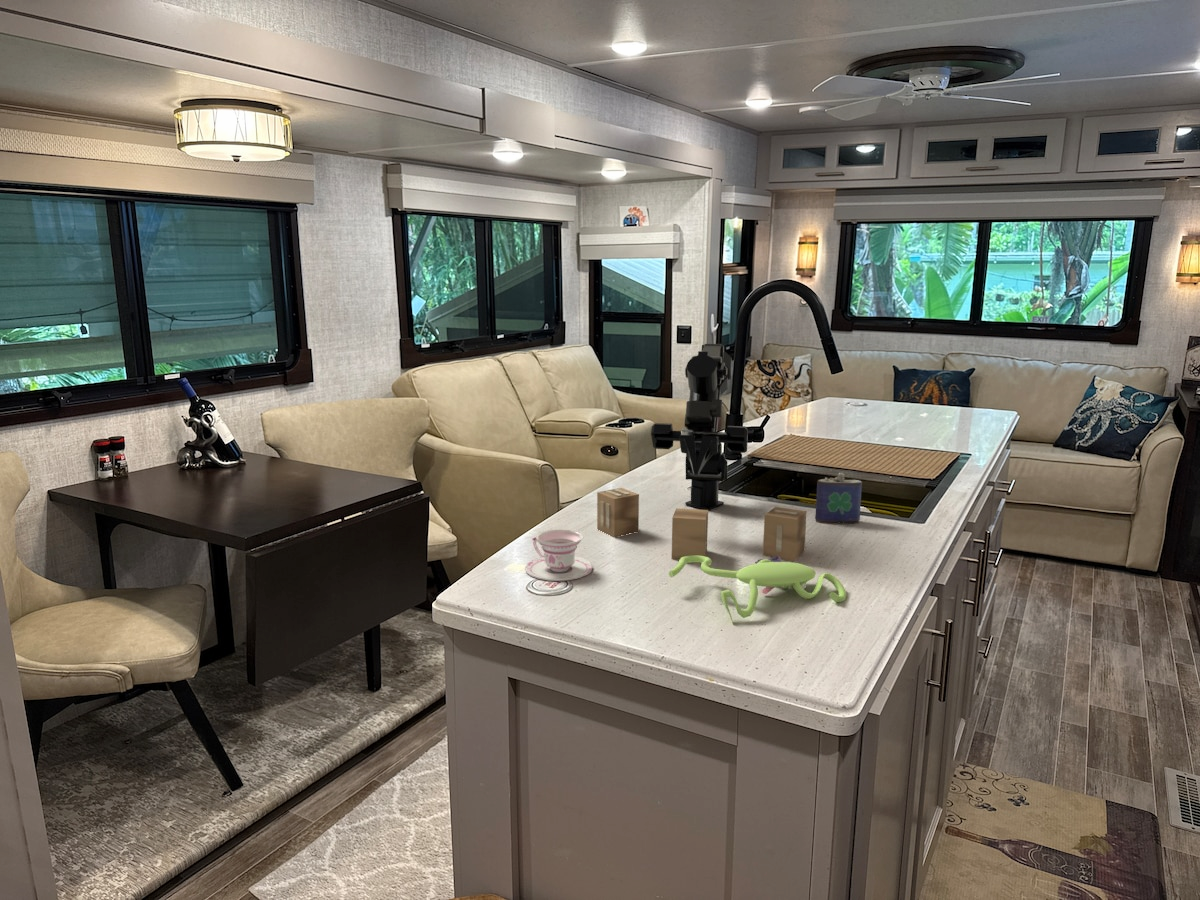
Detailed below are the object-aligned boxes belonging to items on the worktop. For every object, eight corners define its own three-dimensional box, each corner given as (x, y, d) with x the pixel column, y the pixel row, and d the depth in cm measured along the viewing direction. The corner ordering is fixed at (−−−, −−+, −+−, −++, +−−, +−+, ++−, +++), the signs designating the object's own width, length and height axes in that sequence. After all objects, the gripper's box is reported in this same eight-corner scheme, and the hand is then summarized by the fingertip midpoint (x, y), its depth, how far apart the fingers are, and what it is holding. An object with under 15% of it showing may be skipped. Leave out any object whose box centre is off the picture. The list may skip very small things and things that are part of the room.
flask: (857, 520, 173) (861, 471, 171) (861, 524, 170) (865, 474, 168) (813, 519, 174) (816, 470, 171) (816, 523, 171) (819, 474, 168)
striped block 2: (773, 546, 157) (775, 505, 155) (804, 551, 154) (806, 510, 152) (762, 556, 152) (764, 513, 150) (793, 561, 149) (796, 518, 147)
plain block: (675, 548, 156) (676, 508, 154) (706, 550, 155) (708, 510, 153) (671, 559, 150) (672, 517, 148) (704, 561, 149) (705, 519, 147)
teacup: (600, 561, 149) (600, 529, 148) (581, 585, 138) (581, 551, 137) (538, 555, 152) (538, 523, 151) (514, 578, 141) (514, 544, 140)
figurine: (658, 587, 138) (659, 555, 137) (790, 564, 148) (791, 535, 147) (715, 630, 121) (716, 595, 120) (858, 602, 132) (861, 569, 130)
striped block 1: (621, 524, 170) (621, 486, 168) (638, 532, 165) (638, 493, 163) (596, 530, 167) (596, 491, 165) (613, 538, 162) (613, 498, 160)
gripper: (653, 382, 161) (643, 449, 152) (749, 385, 157) (745, 453, 149) (657, 415, 170) (649, 479, 162) (749, 418, 166) (745, 484, 158)
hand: (695, 474), depth 157 cm, fingers closed
